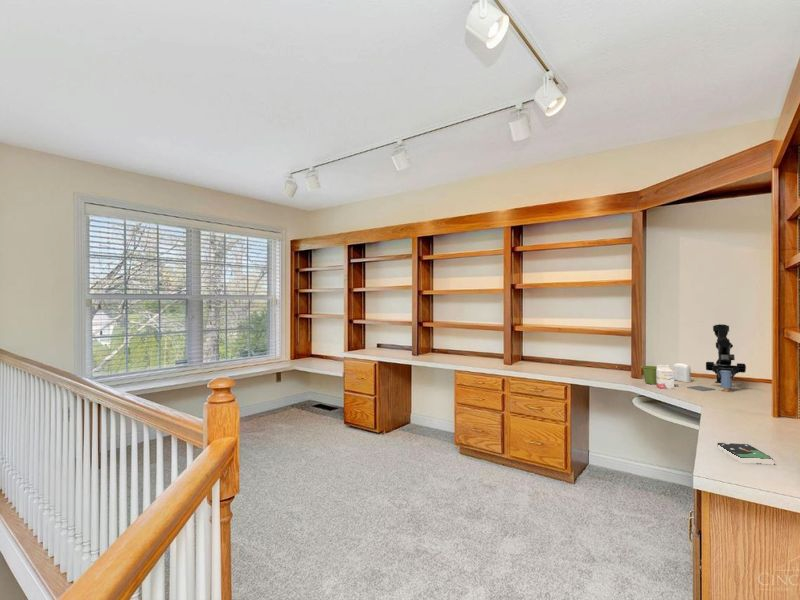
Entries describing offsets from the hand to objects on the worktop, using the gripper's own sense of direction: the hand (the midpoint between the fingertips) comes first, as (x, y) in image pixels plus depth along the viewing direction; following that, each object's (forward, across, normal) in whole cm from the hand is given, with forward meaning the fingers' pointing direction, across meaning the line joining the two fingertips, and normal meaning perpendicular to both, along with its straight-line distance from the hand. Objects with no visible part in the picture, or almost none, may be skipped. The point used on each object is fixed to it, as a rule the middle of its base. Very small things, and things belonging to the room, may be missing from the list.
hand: (726, 378), depth 237 cm
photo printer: (-15, -22, +28) cm, 39 cm away
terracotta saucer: (+5, 0, +7) cm, 9 cm away
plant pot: (-2, -39, +16) cm, 42 cm away
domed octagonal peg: (+3, 0, +5) cm, 6 cm away
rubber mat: (+4, -12, +8) cm, 15 cm away
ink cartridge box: (+6, -30, +7) cm, 32 cm away
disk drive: (+88, -1, -75) cm, 116 cm away
